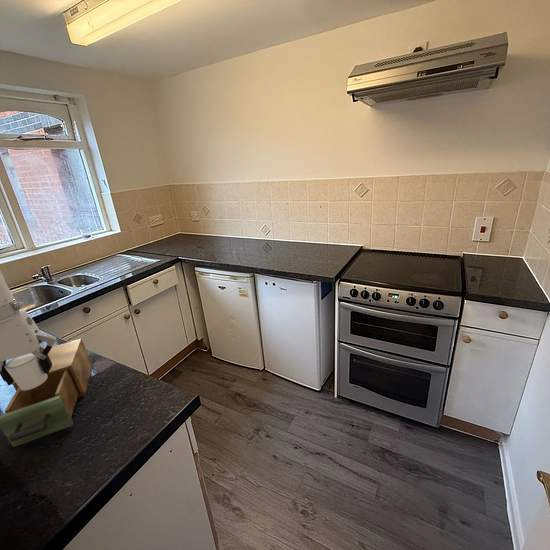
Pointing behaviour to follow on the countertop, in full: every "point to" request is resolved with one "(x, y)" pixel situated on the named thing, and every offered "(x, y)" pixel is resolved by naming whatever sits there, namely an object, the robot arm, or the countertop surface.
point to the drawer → (40, 409)
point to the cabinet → (71, 363)
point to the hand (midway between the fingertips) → (30, 375)
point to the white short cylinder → (26, 371)
